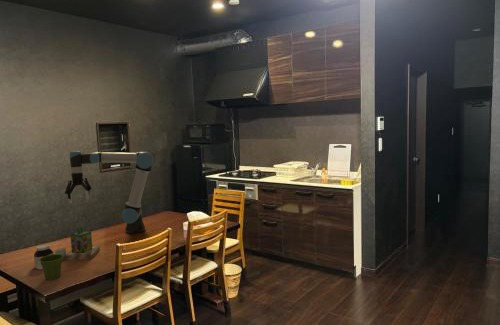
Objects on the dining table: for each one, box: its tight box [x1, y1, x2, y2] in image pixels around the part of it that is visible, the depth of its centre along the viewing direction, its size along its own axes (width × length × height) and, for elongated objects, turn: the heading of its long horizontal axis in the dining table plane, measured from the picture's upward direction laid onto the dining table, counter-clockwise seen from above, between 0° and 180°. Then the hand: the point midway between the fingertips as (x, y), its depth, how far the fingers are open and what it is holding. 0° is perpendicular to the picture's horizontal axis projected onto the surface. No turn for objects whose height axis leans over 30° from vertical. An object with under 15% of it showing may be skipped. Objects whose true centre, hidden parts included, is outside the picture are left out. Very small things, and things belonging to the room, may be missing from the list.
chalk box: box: [69, 226, 93, 253], centre depth 242 cm, size 9×9×15 cm
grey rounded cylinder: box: [54, 247, 67, 261], centre depth 238 cm, size 6×6×6 cm
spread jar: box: [33, 244, 54, 270], centre depth 225 cm, size 12×11×12 cm
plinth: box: [64, 245, 100, 261], centre depth 243 cm, size 16×16×3 cm
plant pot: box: [39, 253, 63, 281], centre depth 207 cm, size 12×12×11 cm
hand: (79, 201), depth 276 cm, fingers open, 13 cm apart
